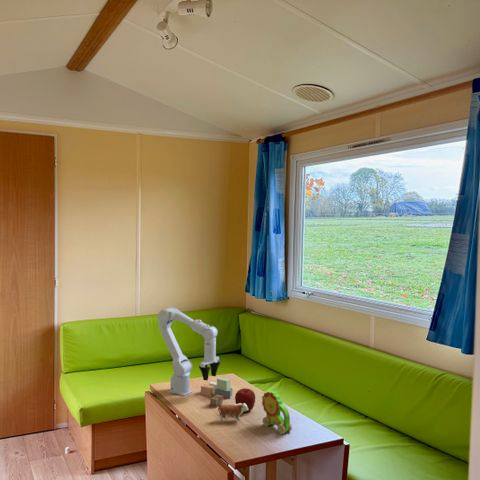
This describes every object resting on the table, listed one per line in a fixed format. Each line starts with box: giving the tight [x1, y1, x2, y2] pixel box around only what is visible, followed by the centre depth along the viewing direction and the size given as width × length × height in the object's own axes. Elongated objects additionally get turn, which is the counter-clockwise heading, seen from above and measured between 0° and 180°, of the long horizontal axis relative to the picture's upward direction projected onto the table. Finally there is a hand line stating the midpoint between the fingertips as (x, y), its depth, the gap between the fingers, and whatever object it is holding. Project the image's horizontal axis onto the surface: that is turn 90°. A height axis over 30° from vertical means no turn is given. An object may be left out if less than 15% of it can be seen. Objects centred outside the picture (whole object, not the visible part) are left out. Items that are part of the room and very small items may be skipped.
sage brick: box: [216, 376, 232, 391], centre depth 249 cm, size 6×3×5 cm, turn 57°
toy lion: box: [261, 390, 293, 435], centre depth 212 cm, size 16×5×15 cm, turn 37°
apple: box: [234, 387, 256, 413], centre depth 231 cm, size 10×10×10 cm
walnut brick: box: [209, 394, 224, 409], centre depth 237 cm, size 6×3×4 cm, turn 152°
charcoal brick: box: [214, 387, 233, 400], centre depth 249 cm, size 8×5×4 cm, turn 79°
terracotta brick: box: [200, 384, 215, 397], centre depth 253 cm, size 6×3×4 cm, turn 62°
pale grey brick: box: [208, 381, 217, 393], centre depth 257 cm, size 6×3×4 cm, turn 59°
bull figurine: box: [217, 403, 249, 423], centre depth 219 cm, size 4×13×8 cm, turn 89°
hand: (209, 378), depth 248 cm, fingers open, 7 cm apart
